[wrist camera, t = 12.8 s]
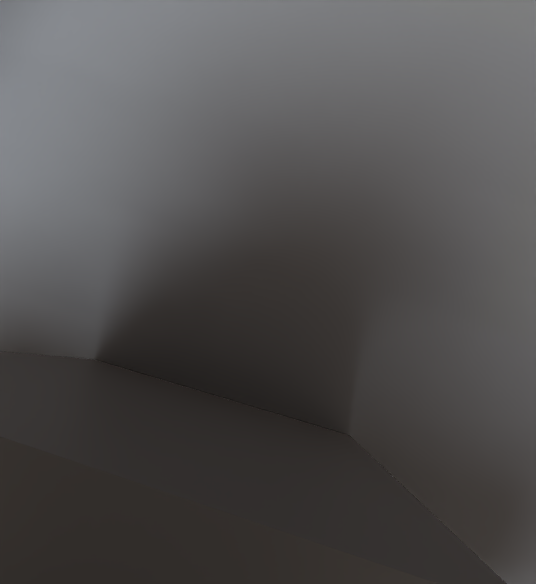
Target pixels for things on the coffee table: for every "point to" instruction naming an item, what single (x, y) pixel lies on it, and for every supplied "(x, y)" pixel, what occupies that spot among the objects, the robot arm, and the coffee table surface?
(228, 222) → the coffee table surface
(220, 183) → the coffee table surface
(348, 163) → the coffee table surface
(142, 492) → the grey cube
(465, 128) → the coffee table surface
